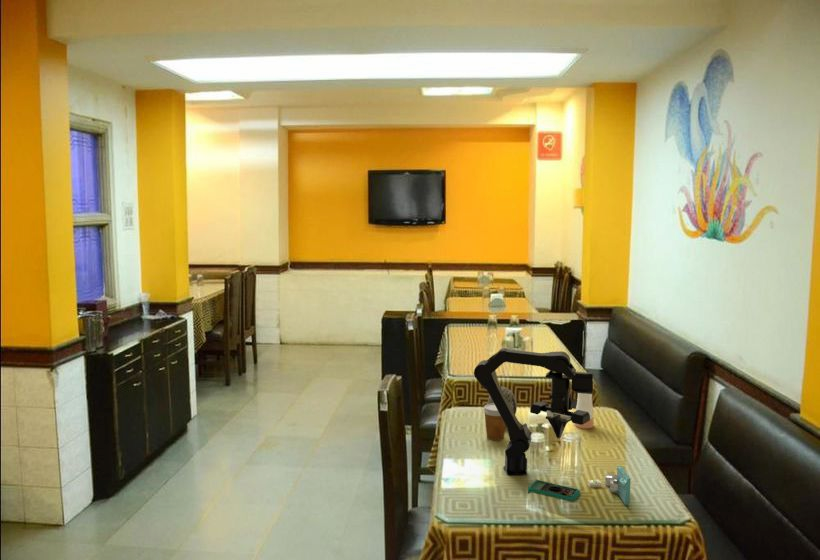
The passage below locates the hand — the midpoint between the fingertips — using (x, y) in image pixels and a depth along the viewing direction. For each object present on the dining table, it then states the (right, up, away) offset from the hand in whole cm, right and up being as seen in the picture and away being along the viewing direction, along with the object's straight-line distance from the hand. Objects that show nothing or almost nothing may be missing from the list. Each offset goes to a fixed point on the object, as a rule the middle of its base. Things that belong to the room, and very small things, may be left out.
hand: (558, 437), depth 214 cm
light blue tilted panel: (+15, -14, -16) cm, 26 cm away
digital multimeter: (-4, -15, -12) cm, 20 cm away
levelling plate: (+13, -15, -13) cm, 23 cm away
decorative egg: (-11, -7, +53) cm, 54 cm away
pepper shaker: (+21, -7, +49) cm, 54 cm away
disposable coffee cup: (-16, -9, +36) cm, 41 cm away
